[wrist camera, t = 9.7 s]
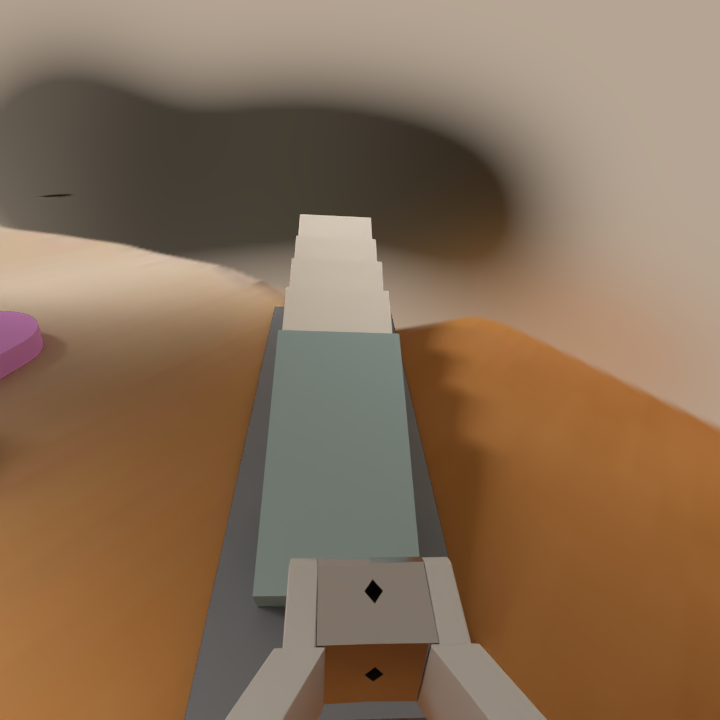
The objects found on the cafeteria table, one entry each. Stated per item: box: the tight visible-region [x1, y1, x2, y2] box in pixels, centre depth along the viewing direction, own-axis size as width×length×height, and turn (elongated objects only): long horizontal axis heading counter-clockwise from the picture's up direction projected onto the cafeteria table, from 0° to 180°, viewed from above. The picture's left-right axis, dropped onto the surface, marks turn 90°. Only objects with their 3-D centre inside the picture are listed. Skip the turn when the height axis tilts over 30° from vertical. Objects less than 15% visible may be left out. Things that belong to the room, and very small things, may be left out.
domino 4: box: [282, 287, 392, 333], centre depth 22 cm, size 2×5×10 cm
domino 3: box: [290, 258, 384, 291], centre depth 25 cm, size 2×5×10 cm
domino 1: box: [298, 214, 372, 239], centre depth 33 cm, size 2×5×10 cm
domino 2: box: [295, 236, 377, 262], centre depth 29 cm, size 2×5×10 cm
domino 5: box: [253, 330, 419, 607], centre depth 18 cm, size 2×5×10 cm
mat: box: [184, 307, 448, 720], centre depth 24 cm, size 25×8×1 cm, turn 3°
